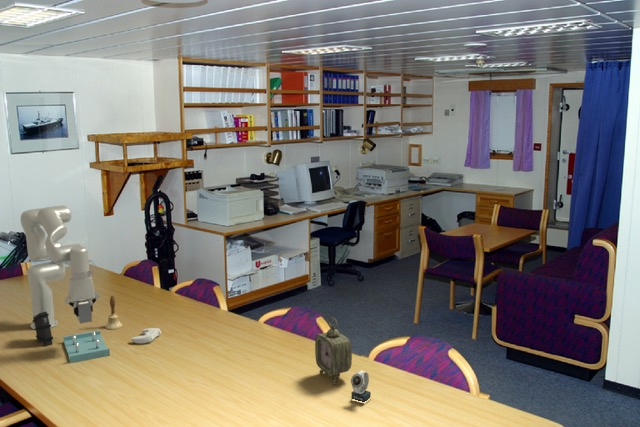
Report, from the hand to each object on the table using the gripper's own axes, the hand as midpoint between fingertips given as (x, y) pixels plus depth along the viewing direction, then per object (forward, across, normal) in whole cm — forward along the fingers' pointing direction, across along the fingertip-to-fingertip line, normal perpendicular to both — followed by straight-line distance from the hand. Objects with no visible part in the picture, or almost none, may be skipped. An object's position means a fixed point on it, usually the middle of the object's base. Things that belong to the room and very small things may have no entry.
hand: (83, 314), depth 256 cm
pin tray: (+16, 0, 0) cm, 16 cm away
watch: (+17, -81, +102) cm, 131 cm away
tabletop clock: (+17, -82, +81) cm, 116 cm away
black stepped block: (+17, +16, -19) cm, 30 cm away
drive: (+2, 0, 0) cm, 2 cm away
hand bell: (+17, -16, -23) cm, 33 cm away
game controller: (+17, -27, +2) cm, 32 cm away
